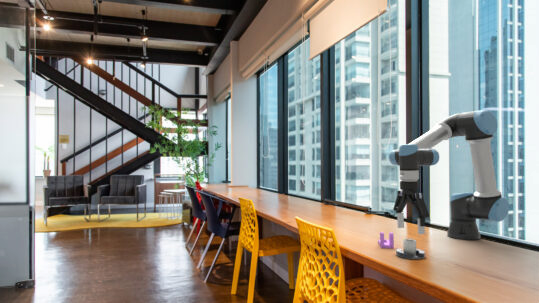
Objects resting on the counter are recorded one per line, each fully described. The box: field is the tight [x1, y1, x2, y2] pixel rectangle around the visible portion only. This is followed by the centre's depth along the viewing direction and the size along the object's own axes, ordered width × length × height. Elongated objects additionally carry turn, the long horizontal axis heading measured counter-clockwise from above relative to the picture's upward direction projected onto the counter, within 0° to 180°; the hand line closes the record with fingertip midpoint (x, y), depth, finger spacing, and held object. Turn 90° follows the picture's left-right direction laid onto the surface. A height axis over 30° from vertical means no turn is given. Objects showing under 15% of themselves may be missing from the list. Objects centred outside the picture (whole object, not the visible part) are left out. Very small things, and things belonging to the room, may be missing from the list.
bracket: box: [377, 231, 395, 249], centre depth 168 cm, size 13×6×7 cm, turn 170°
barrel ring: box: [395, 248, 426, 260], centre depth 148 cm, size 11×11×2 cm
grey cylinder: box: [402, 238, 417, 256], centre depth 148 cm, size 5×5×6 cm
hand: (410, 230), depth 148 cm, fingers open, 13 cm apart
